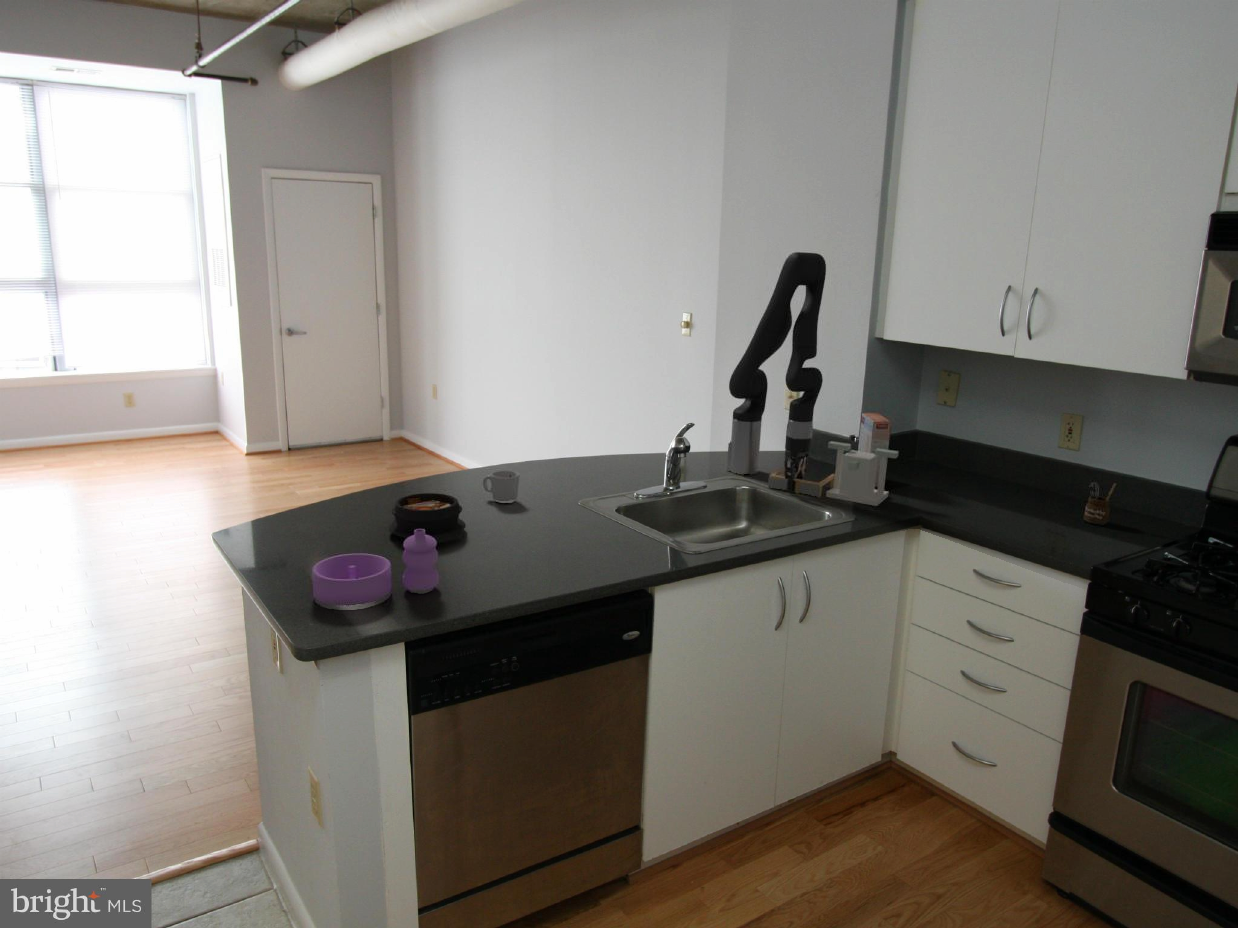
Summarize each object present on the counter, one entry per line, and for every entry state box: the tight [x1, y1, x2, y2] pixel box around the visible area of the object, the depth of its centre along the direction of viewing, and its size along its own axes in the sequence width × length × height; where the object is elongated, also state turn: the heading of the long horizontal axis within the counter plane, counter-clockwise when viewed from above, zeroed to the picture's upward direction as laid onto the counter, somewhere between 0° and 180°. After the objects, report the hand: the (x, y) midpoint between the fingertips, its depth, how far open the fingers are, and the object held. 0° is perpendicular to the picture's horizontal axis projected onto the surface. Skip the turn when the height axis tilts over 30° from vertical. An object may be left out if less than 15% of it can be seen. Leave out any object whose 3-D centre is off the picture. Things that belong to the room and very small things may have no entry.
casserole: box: [388, 492, 467, 544], centre depth 220 cm, size 25×19×8 cm
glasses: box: [767, 466, 835, 498], centre depth 272 cm, size 16×14×4 cm
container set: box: [311, 529, 440, 606], centre depth 182 cm, size 25×15×13 cm, turn 107°
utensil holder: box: [1083, 482, 1117, 524], centre depth 246 cm, size 6×6×12 cm
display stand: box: [825, 441, 900, 507], centre depth 261 cm, size 20×15×15 cm
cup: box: [482, 470, 521, 501], centre depth 248 cm, size 11×8×8 cm
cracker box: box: [857, 412, 892, 488], centre depth 279 cm, size 14×6×21 cm, turn 179°
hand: (794, 489), depth 267 cm, fingers open, 5 cm apart
